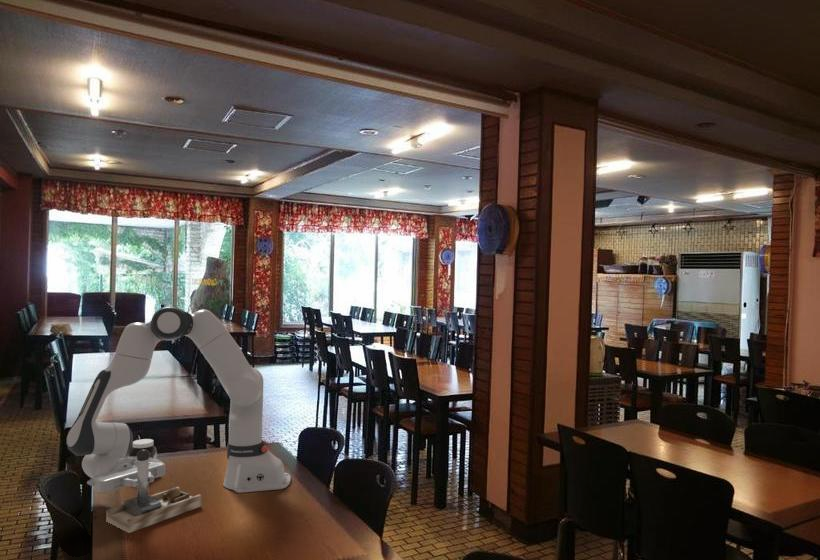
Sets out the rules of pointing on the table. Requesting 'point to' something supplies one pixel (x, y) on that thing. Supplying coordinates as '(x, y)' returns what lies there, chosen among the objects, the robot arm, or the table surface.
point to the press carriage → (142, 489)
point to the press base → (152, 512)
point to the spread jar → (146, 445)
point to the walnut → (173, 494)
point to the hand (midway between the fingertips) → (144, 481)
